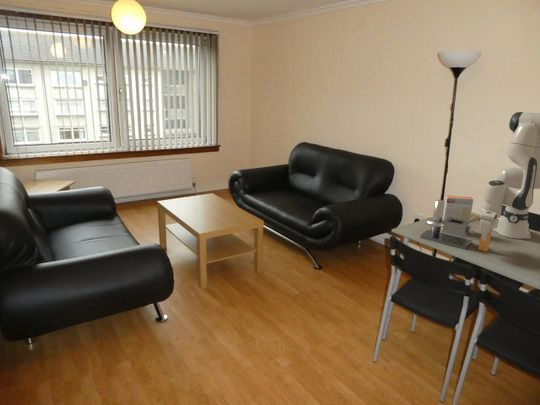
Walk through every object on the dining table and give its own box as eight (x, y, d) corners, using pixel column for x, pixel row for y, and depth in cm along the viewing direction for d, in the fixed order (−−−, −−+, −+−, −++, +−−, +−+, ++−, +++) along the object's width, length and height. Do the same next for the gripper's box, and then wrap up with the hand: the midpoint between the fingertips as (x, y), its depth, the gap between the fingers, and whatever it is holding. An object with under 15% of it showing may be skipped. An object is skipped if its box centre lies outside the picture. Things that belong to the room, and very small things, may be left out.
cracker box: (465, 230, 234) (471, 196, 228) (467, 233, 228) (474, 199, 222) (440, 227, 237) (445, 194, 231) (442, 231, 232) (447, 197, 225)
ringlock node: (427, 231, 230) (432, 196, 224) (473, 243, 215) (480, 205, 208) (420, 237, 221) (425, 201, 215) (467, 250, 206) (474, 211, 200)
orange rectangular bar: (479, 247, 209) (484, 223, 205) (487, 249, 206) (492, 224, 202) (478, 249, 207) (483, 224, 203) (486, 251, 204) (491, 226, 200)
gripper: (488, 206, 210) (483, 231, 214) (479, 215, 194) (474, 241, 198) (501, 209, 206) (496, 234, 210) (493, 218, 191) (488, 244, 194)
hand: (486, 237), depth 204 cm, fingers open, 8 cm apart
